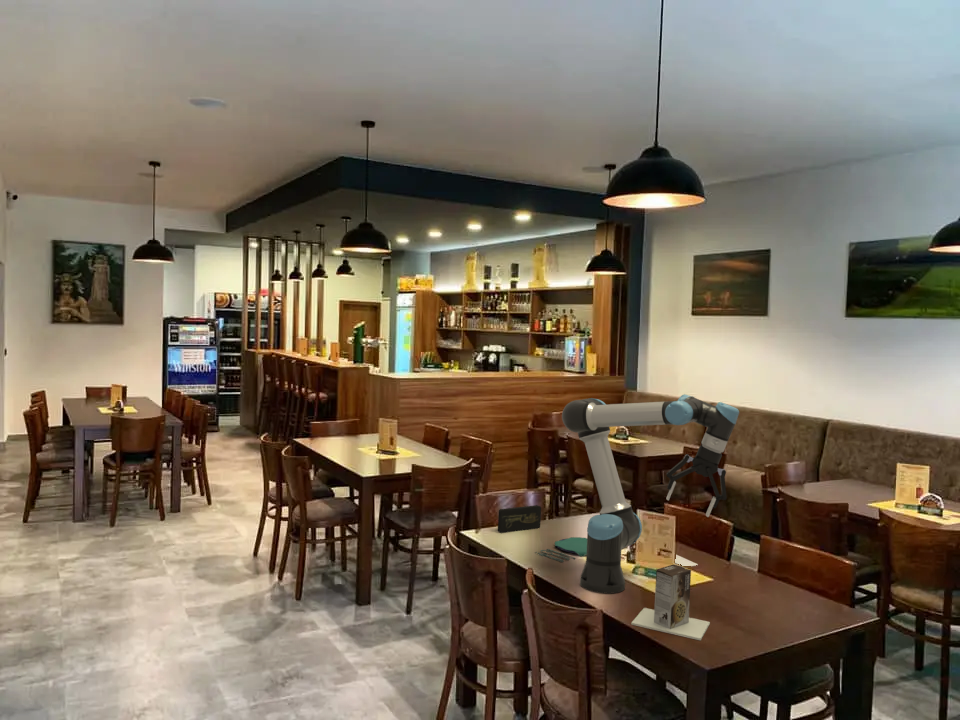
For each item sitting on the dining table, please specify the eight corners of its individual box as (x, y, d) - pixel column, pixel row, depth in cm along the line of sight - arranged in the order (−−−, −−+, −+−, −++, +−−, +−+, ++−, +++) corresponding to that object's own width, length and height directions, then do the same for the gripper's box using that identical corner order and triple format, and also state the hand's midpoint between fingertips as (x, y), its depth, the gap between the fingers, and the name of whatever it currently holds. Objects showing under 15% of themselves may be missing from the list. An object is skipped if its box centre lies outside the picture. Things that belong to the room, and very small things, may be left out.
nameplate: (500, 533, 306) (501, 510, 306) (497, 532, 308) (498, 509, 307) (540, 528, 317) (541, 505, 316) (537, 527, 318) (538, 504, 318)
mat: (631, 624, 214) (631, 622, 214) (644, 609, 226) (644, 607, 226) (700, 640, 205) (700, 638, 205) (709, 623, 217) (709, 622, 217)
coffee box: (671, 615, 221) (674, 563, 220) (689, 622, 216) (692, 569, 215) (652, 622, 215) (655, 568, 215) (670, 629, 210) (673, 574, 210)
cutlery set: (615, 551, 288) (615, 545, 288) (565, 566, 268) (565, 559, 268) (577, 539, 303) (577, 534, 303) (527, 553, 283) (527, 547, 283)
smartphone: (684, 566, 271) (657, 554, 284) (683, 568, 271) (657, 556, 284) (698, 564, 274) (671, 552, 287) (698, 566, 274) (671, 554, 287)
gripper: (675, 435, 236) (651, 494, 238) (750, 465, 231) (725, 525, 234) (674, 432, 243) (651, 490, 246) (747, 461, 238) (722, 519, 241)
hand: (687, 507), depth 240 cm, fingers open, 13 cm apart
